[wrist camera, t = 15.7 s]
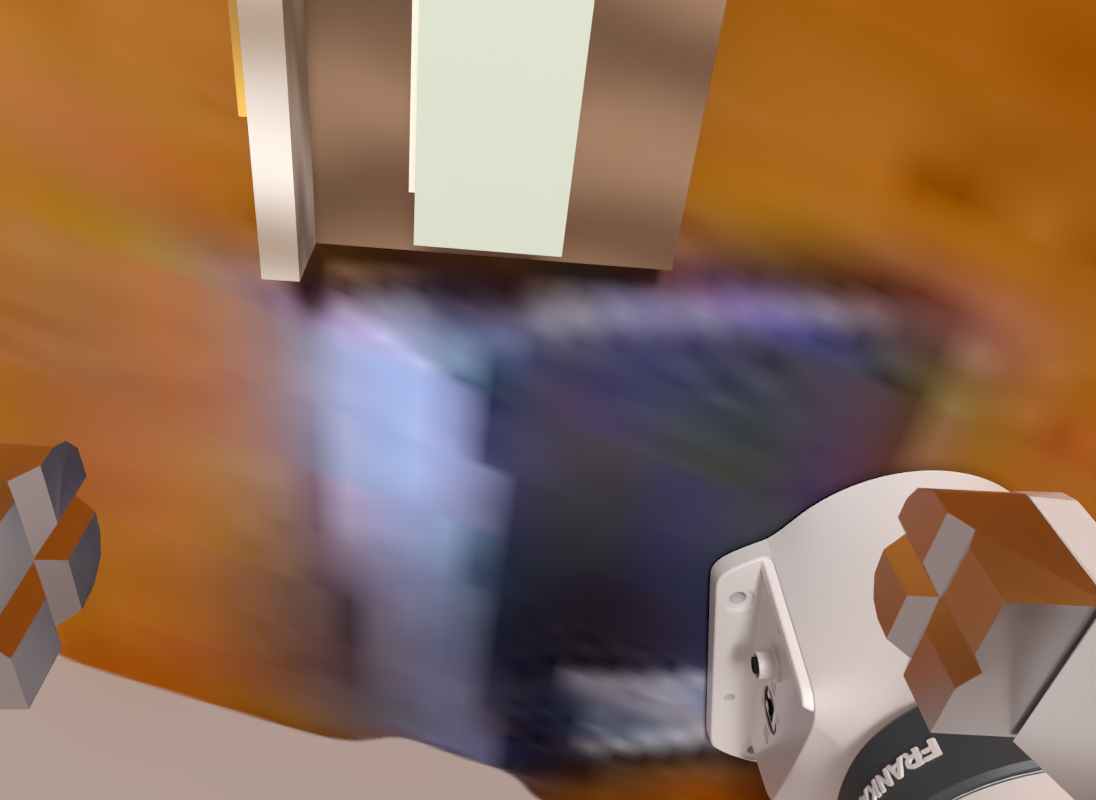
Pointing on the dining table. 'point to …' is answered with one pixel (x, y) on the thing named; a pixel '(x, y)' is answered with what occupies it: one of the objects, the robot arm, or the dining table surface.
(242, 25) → the shelf
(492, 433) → the dining table surface
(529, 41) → the carton
